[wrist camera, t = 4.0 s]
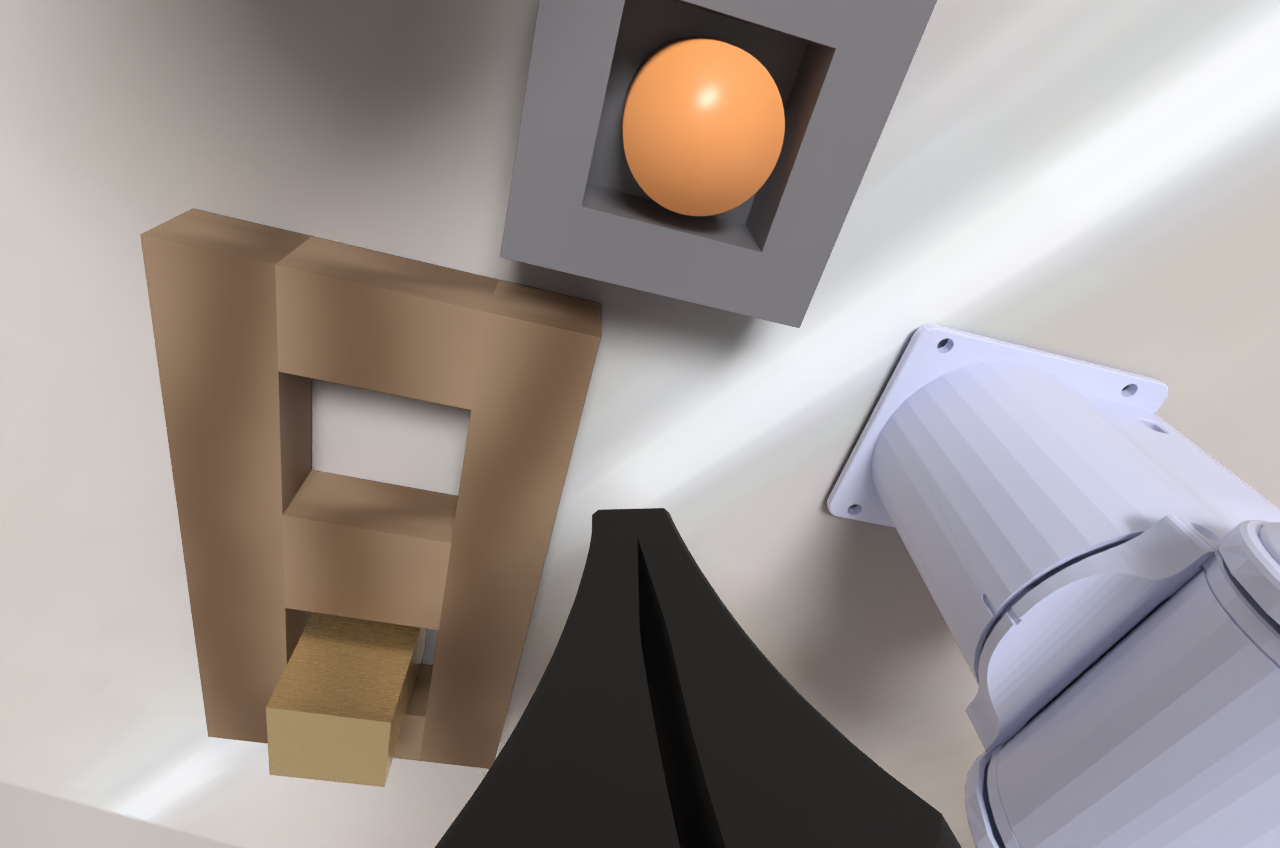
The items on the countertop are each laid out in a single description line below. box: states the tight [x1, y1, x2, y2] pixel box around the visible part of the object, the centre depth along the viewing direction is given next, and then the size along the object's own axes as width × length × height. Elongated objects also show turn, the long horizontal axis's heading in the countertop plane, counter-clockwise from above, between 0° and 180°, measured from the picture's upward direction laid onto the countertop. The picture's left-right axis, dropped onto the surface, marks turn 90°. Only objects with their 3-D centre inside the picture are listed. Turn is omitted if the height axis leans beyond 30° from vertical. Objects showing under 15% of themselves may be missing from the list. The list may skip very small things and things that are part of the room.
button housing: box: [500, 0, 937, 328], centre depth 17 cm, size 8×8×4 cm
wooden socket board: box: [141, 209, 602, 769], centre depth 25 cm, size 12×22×2 cm, turn 165°
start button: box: [622, 36, 785, 216], centre depth 16 cm, size 4×4×2 cm
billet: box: [266, 612, 427, 787], centre depth 26 cm, size 4×4×6 cm
